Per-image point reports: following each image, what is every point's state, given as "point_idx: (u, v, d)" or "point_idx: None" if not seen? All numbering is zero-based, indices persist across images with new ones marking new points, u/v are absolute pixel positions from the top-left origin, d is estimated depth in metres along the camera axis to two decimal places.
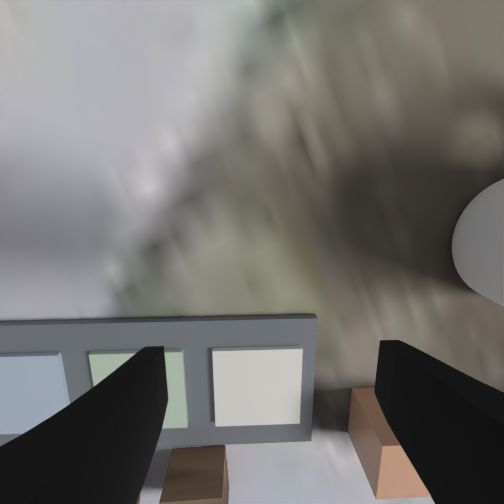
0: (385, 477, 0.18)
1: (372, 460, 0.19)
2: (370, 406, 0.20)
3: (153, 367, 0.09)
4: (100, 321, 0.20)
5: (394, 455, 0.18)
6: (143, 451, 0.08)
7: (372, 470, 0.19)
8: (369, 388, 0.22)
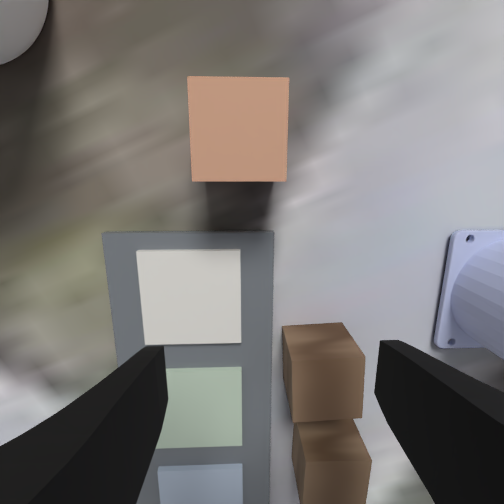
0: (247, 171, 0.13)
1: None
2: None
3: (153, 367, 0.09)
4: None
5: (208, 162, 0.13)
6: (143, 451, 0.08)
7: None
8: None
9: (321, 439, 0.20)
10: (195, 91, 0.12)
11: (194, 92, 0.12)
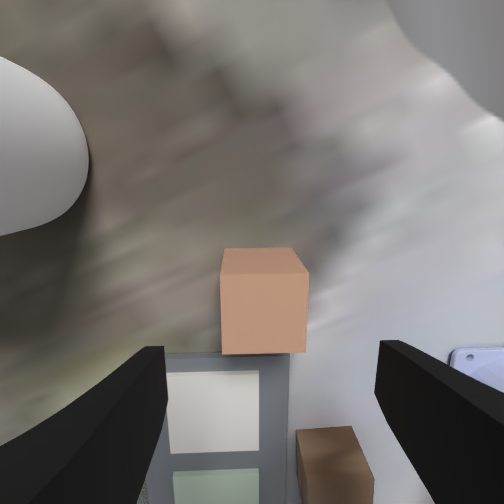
0: (271, 345, 0.14)
1: None
2: None
3: (153, 367, 0.09)
4: None
5: (237, 339, 0.14)
6: (143, 451, 0.08)
7: None
8: None
9: None
10: (226, 286, 0.14)
11: (225, 286, 0.14)
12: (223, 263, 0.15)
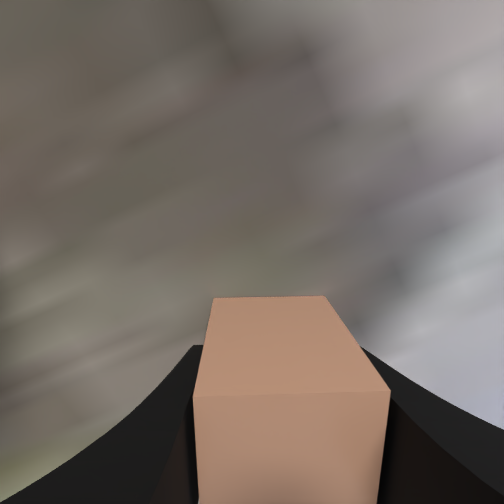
0: None
1: None
2: None
3: None
4: None
5: None
6: None
7: None
8: None
9: None
10: (208, 419, 0.06)
11: (206, 420, 0.06)
12: (205, 347, 0.08)
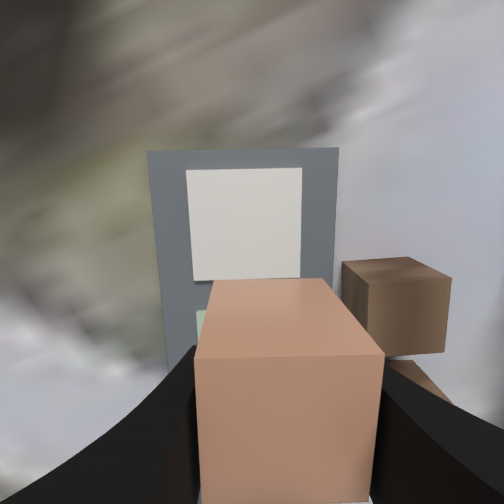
0: (300, 490, 0.07)
1: None
2: None
3: None
4: None
5: (231, 481, 0.07)
6: None
7: None
8: None
9: None
10: (209, 381, 0.06)
11: (206, 383, 0.06)
12: (206, 319, 0.08)
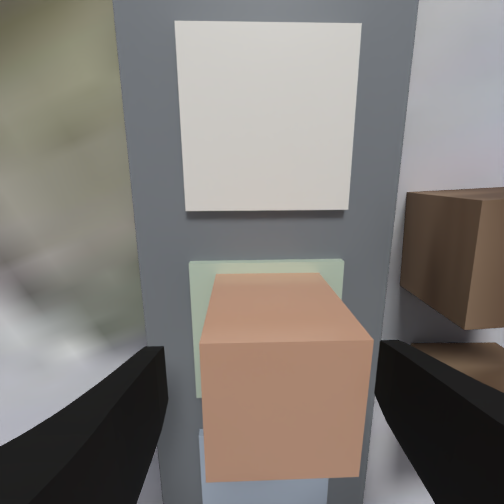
0: (296, 466, 0.08)
1: None
2: None
3: (153, 367, 0.09)
4: None
5: (233, 457, 0.08)
6: (143, 451, 0.08)
7: None
8: None
9: (479, 376, 0.12)
10: (213, 364, 0.07)
11: (210, 365, 0.07)
12: (209, 310, 0.09)
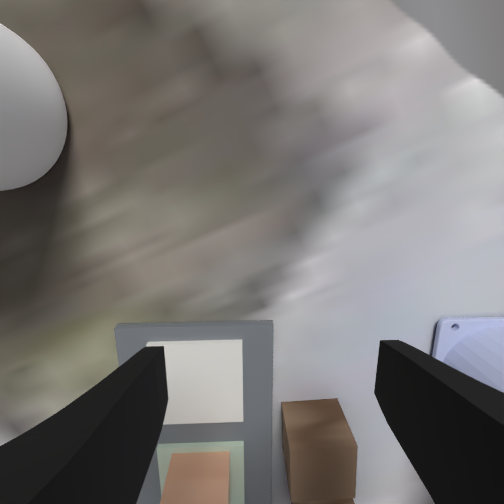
0: None
1: None
2: None
3: (153, 367, 0.09)
4: None
5: None
6: (143, 451, 0.08)
7: None
8: None
9: None
10: None
11: None
12: (161, 501, 0.18)
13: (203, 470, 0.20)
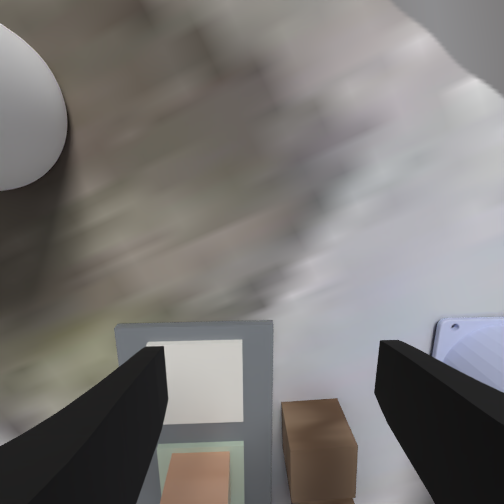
0: None
1: None
2: None
3: (153, 367, 0.09)
4: None
5: None
6: (143, 450, 0.08)
7: None
8: None
9: None
10: None
11: None
12: (161, 501, 0.18)
13: (203, 470, 0.20)
